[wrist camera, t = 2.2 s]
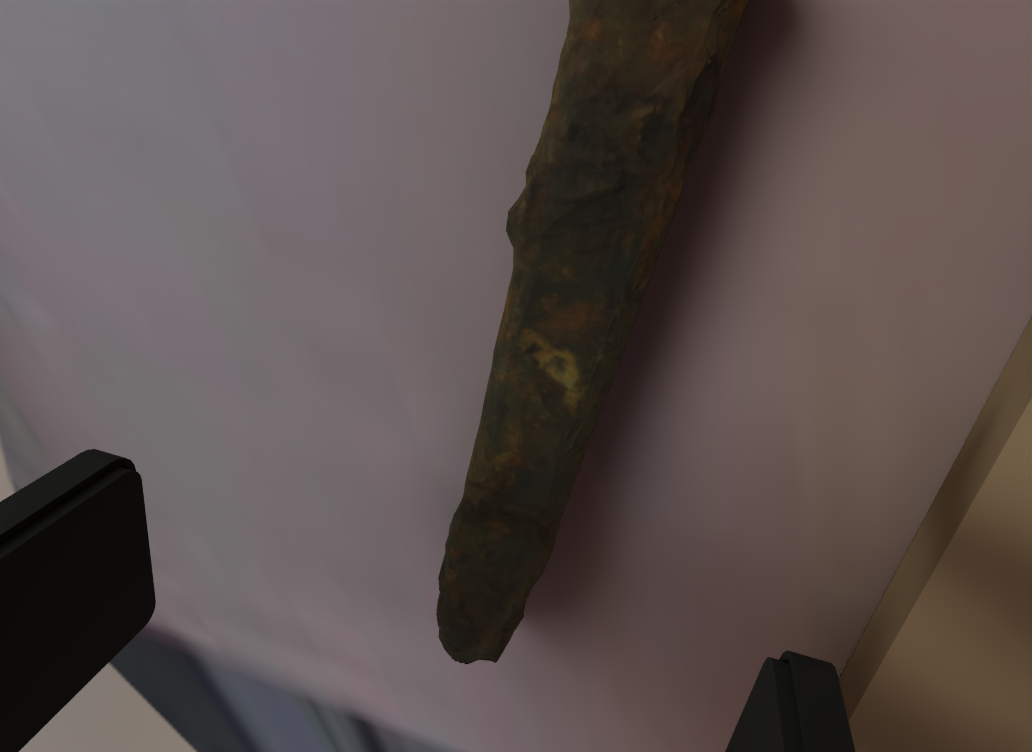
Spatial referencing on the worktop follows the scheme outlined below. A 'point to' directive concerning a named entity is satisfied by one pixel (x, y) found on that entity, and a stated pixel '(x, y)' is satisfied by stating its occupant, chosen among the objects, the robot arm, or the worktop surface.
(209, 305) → the worktop surface
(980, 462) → the board
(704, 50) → the hand tool
